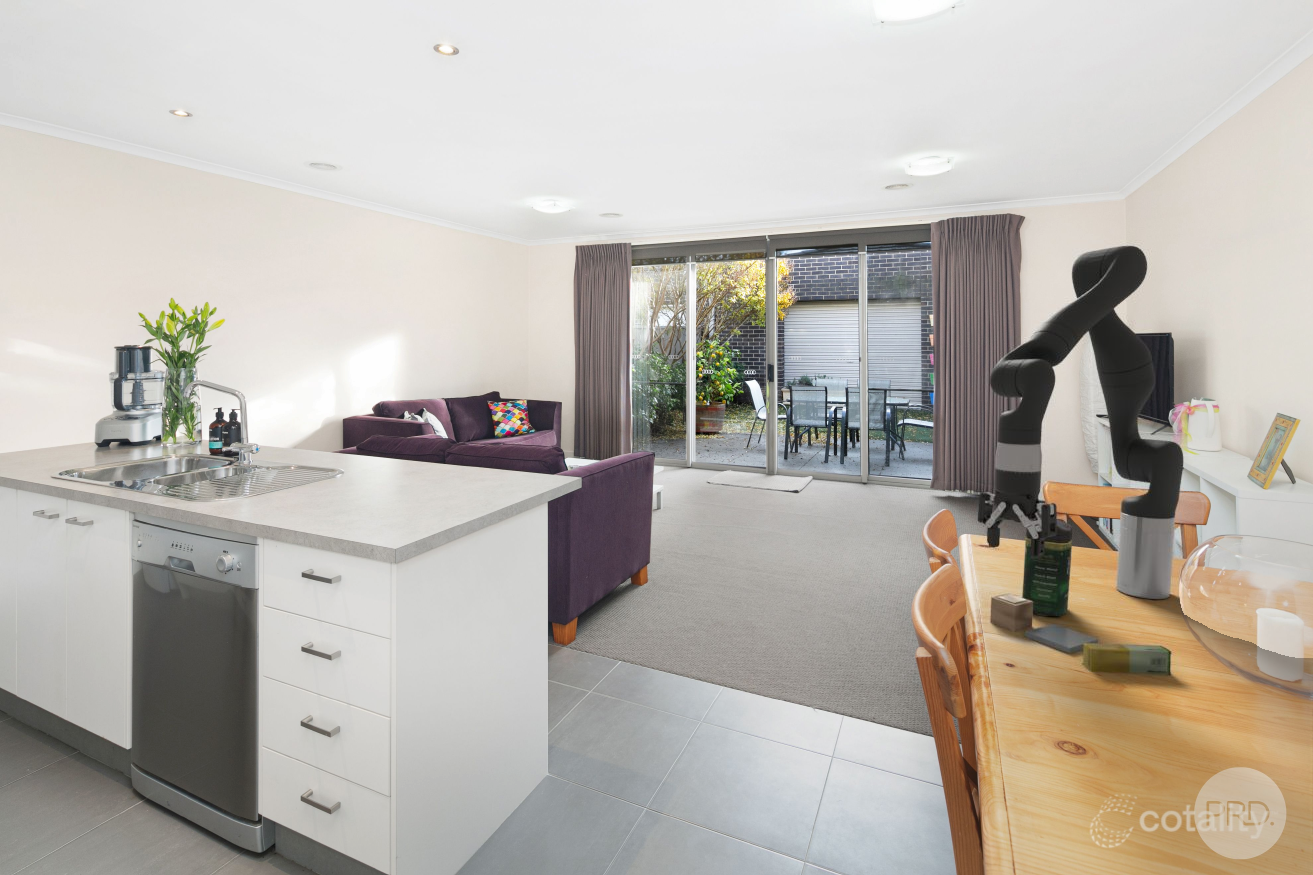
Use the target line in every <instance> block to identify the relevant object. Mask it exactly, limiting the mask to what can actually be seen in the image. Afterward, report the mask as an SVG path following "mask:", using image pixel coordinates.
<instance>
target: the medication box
mask: <svg viewBox="0 0 1313 875" xmlns="http://www.w3.org/2000/svg"><path fill="white" fill-rule="evenodd" d="M1082 651H1083V652H1082V657H1083V658H1082V663H1081V666H1082V665H1083V666H1084V667H1085V668H1086V669H1087V670H1089V672H1100V673H1101V672H1102V673H1119V674H1142V675H1143V674H1144V675H1163V676H1171V674H1172V672H1171V665H1172V664H1171V658H1172V657H1171V656H1172V651H1171V650H1170V649H1168V648H1167V647H1164V646H1163V645H1156V644H1155V645H1153V644H1123V643H1122V644H1120V643H1119V644H1118V643H1098V644H1095V643H1084V644H1083V650H1082Z"/></svg>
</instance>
